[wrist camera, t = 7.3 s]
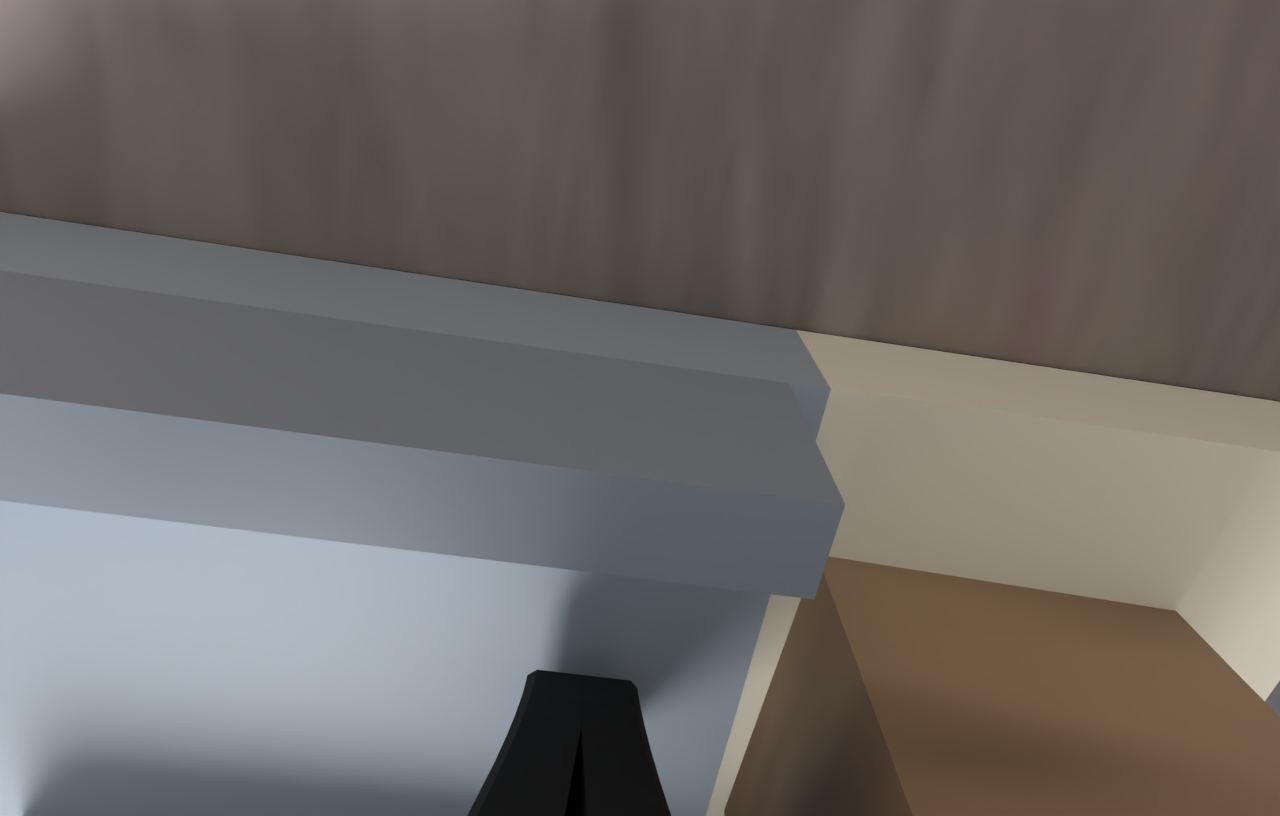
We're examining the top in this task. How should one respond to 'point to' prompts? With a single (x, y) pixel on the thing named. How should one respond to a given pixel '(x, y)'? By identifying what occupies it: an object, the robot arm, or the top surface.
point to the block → (1000, 708)
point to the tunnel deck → (515, 518)
